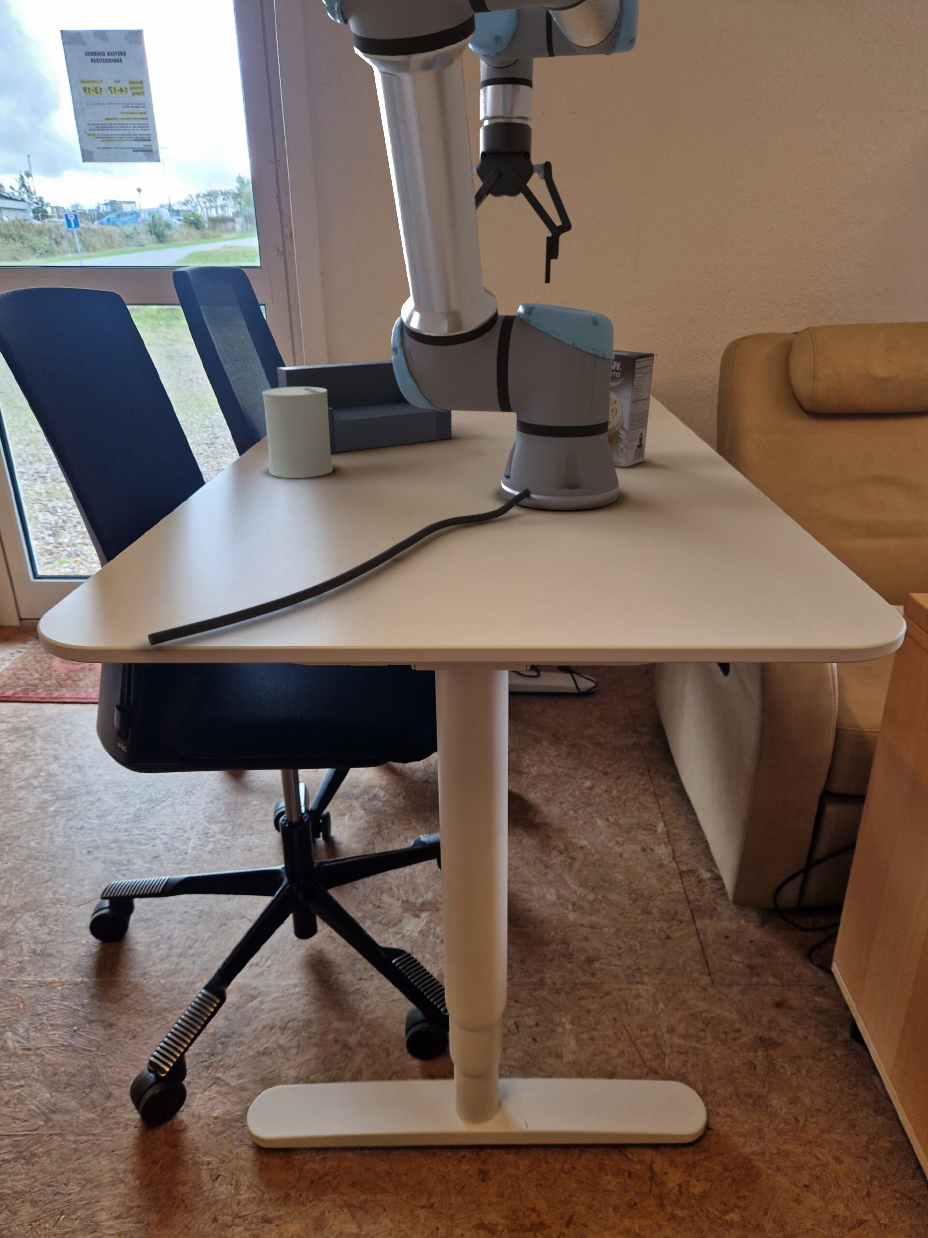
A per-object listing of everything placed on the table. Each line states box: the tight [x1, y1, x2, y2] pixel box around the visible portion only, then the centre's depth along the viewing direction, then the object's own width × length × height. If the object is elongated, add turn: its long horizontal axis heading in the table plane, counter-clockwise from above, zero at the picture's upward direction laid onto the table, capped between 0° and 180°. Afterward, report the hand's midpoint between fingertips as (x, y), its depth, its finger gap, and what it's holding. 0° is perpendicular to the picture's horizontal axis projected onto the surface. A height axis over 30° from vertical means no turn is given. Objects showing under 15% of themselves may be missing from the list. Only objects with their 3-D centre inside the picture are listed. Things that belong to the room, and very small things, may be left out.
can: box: [261, 387, 334, 479], centre depth 118 cm, size 9×9×12 cm
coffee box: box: [608, 349, 655, 468], centre depth 124 cm, size 9×6×16 cm
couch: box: [276, 359, 453, 454], centre depth 141 cm, size 16×25×12 cm, turn 122°
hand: (503, 283), depth 126 cm, fingers open, 13 cm apart
